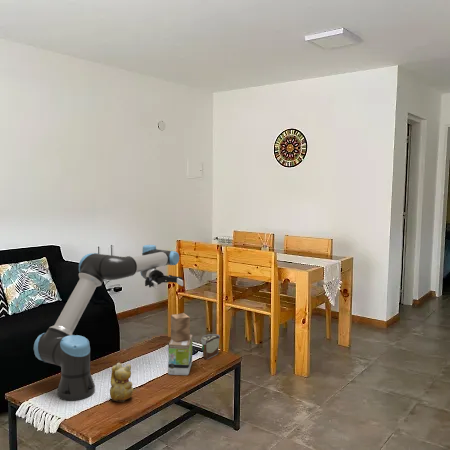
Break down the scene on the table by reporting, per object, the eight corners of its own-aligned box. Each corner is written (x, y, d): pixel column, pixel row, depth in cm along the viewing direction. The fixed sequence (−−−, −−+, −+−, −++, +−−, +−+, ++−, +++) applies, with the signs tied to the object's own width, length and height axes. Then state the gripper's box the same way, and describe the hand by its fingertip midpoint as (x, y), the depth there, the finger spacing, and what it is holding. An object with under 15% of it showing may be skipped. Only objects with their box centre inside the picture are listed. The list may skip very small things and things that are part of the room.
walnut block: (175, 342, 218) (175, 318, 217) (170, 337, 224) (170, 314, 223) (189, 340, 221) (189, 317, 220) (184, 335, 227) (184, 313, 226)
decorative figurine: (135, 395, 196) (134, 361, 195) (129, 405, 188) (129, 369, 187) (112, 394, 197) (112, 360, 196) (106, 404, 189) (105, 368, 187)
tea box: (189, 375, 217) (189, 344, 215) (167, 375, 217) (167, 344, 215) (192, 362, 232) (192, 333, 230) (172, 362, 232) (172, 333, 230)
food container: (210, 350, 248) (210, 332, 247) (219, 353, 244) (220, 334, 243) (195, 357, 238) (195, 338, 237) (205, 360, 234) (205, 341, 233)
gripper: (176, 281, 257) (192, 289, 239) (132, 285, 246) (145, 294, 227) (176, 267, 257) (192, 275, 238) (132, 271, 245) (145, 279, 226)
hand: (169, 284), depth 232 cm, fingers open, 13 cm apart
